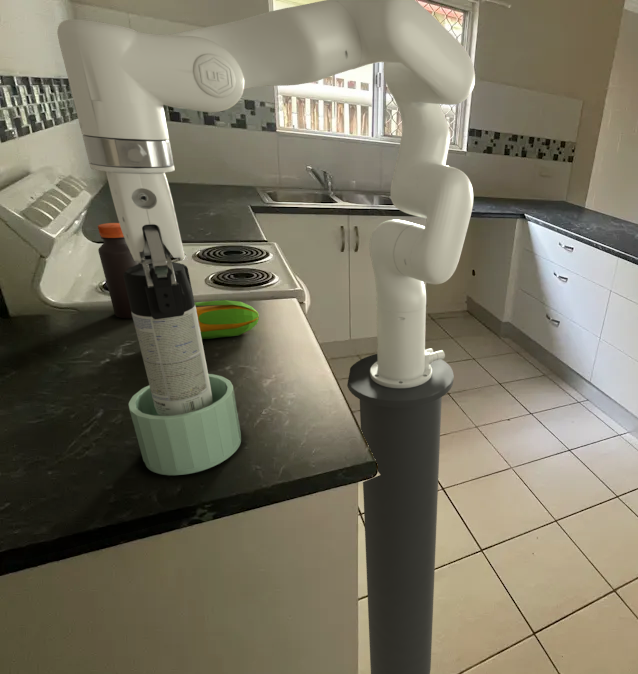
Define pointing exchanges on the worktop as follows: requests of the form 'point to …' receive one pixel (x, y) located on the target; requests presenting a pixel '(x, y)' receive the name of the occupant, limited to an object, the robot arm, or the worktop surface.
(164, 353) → the spray can
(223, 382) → the cup
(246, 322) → the corn
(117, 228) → the bottle
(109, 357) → the worktop surface
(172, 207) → the robot arm
